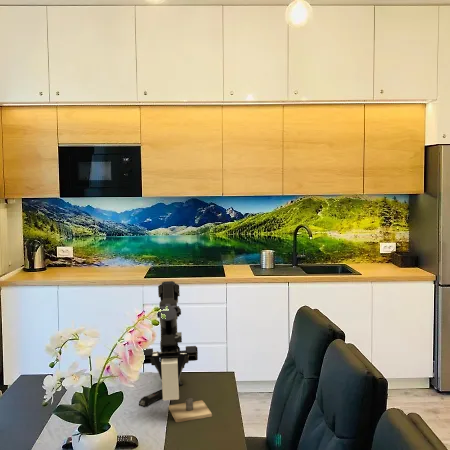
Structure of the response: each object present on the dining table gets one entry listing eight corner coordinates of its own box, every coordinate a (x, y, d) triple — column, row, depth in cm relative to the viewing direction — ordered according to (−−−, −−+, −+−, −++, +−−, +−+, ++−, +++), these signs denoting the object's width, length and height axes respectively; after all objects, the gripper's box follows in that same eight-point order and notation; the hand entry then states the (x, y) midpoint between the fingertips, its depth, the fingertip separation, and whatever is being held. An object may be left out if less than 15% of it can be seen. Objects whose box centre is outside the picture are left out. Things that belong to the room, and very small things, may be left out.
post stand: (168, 408, 186) (168, 395, 186) (202, 402, 190) (201, 390, 189) (176, 422, 175) (175, 408, 174) (211, 416, 178) (211, 403, 178)
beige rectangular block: (163, 394, 181) (161, 358, 180) (178, 393, 181) (177, 357, 180) (162, 400, 175) (161, 364, 174) (179, 399, 176) (177, 363, 175)
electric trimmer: (175, 394, 200) (175, 385, 200) (145, 408, 187) (145, 399, 187) (167, 392, 202) (167, 383, 202) (137, 406, 190) (137, 397, 189)
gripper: (139, 325, 180) (139, 369, 169) (196, 322, 181) (199, 365, 171) (142, 341, 188) (141, 384, 178) (196, 338, 190) (198, 380, 180)
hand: (170, 378), depth 176 cm, fingers closed on beige rectangular block, 5 cm apart
